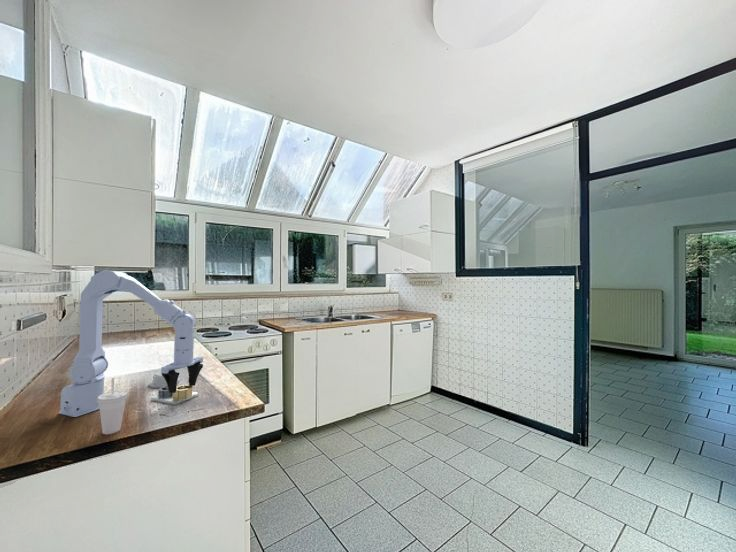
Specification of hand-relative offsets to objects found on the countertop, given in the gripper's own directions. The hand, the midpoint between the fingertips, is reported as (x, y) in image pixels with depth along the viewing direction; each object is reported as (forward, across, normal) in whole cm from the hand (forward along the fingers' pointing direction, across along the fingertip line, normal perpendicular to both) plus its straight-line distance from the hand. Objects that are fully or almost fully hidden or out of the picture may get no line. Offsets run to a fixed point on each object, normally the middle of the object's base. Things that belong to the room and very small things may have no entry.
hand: (182, 388), depth 104 cm
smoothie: (+4, -23, -2) cm, 23 cm away
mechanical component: (+4, +9, +20) cm, 23 cm away
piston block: (+4, 0, +3) cm, 5 cm away
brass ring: (+3, 0, 0) cm, 3 cm away
